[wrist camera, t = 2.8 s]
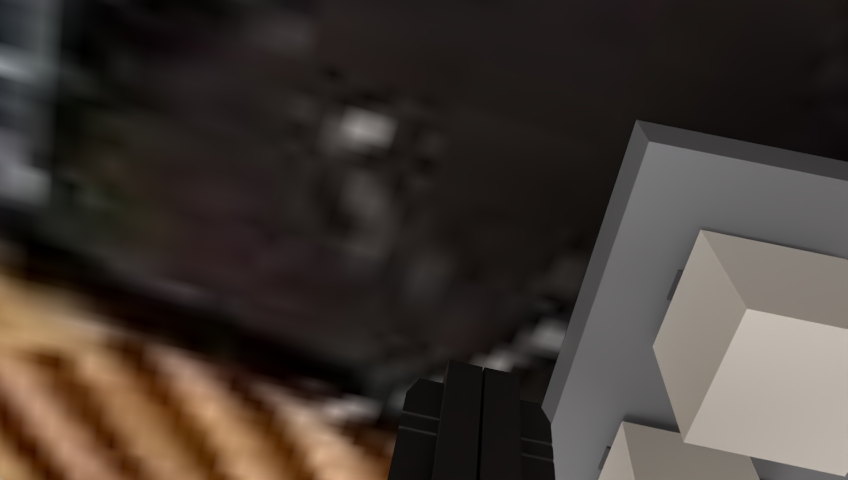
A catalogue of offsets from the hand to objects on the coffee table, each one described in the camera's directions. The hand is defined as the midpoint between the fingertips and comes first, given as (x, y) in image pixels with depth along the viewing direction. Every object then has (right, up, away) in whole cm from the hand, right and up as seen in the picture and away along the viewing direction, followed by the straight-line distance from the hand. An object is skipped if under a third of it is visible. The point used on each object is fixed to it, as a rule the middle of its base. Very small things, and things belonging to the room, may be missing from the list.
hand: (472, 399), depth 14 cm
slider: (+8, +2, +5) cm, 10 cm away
